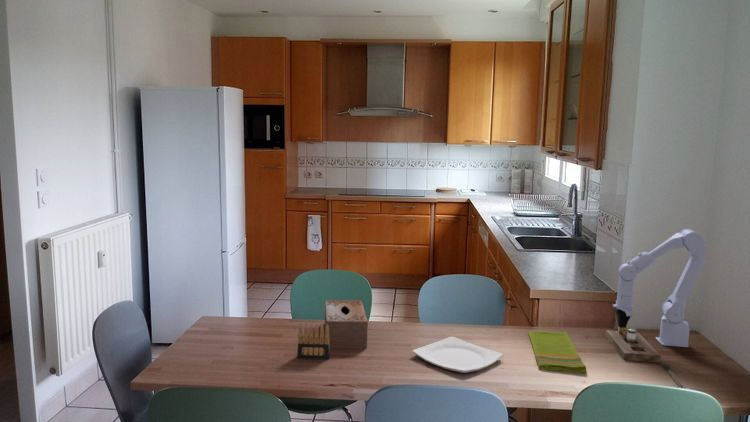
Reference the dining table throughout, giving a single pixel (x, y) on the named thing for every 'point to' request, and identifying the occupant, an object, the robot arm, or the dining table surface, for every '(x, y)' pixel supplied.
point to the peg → (631, 335)
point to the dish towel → (556, 352)
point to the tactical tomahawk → (672, 375)
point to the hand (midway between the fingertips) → (621, 328)
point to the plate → (457, 355)
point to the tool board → (633, 347)
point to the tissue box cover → (346, 323)
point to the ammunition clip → (313, 343)
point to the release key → (623, 330)
